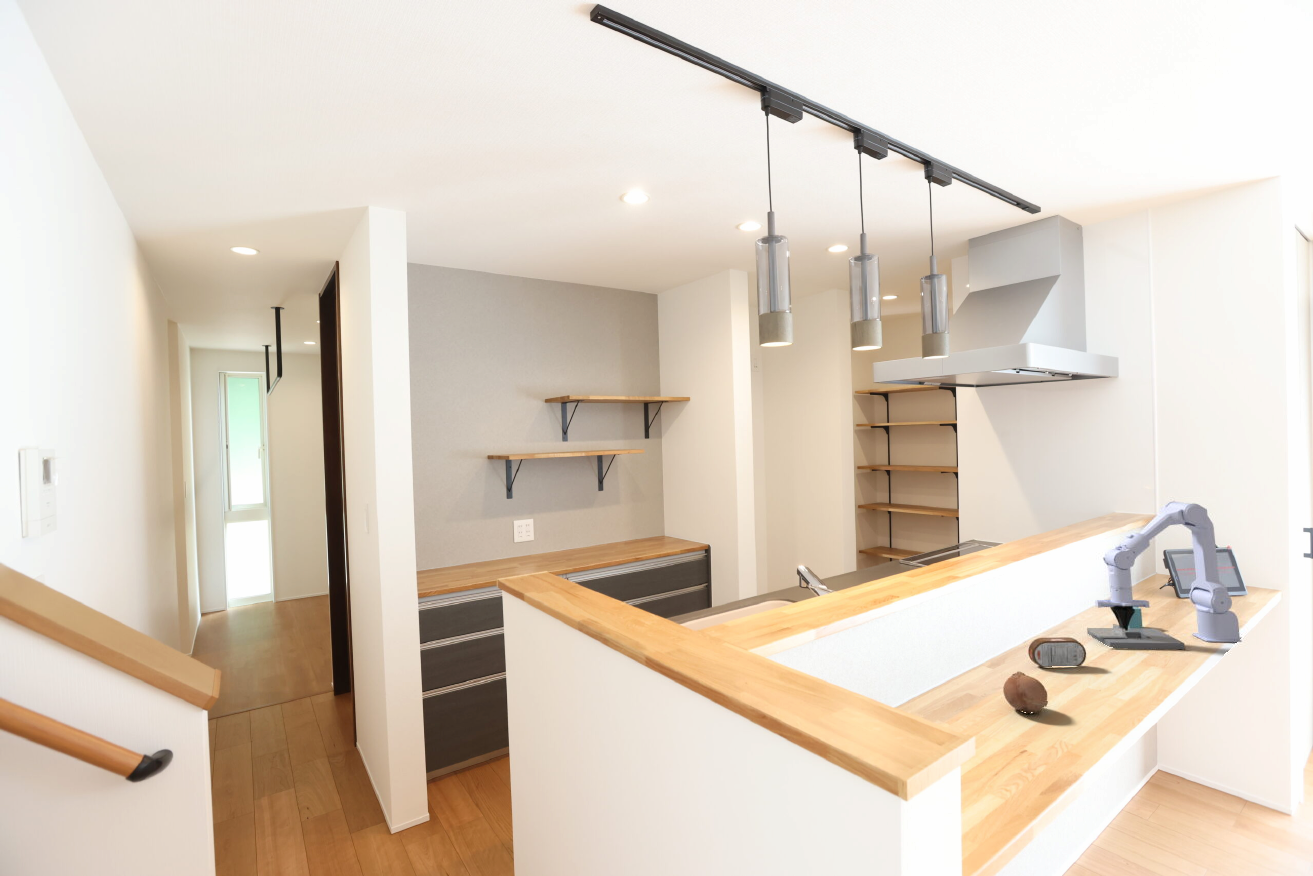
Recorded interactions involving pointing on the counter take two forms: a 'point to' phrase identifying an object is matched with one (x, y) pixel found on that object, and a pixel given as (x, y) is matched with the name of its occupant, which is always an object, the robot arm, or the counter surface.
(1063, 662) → the tin
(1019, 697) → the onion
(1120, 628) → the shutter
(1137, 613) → the plug
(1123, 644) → the socket plate
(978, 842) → the counter surface
